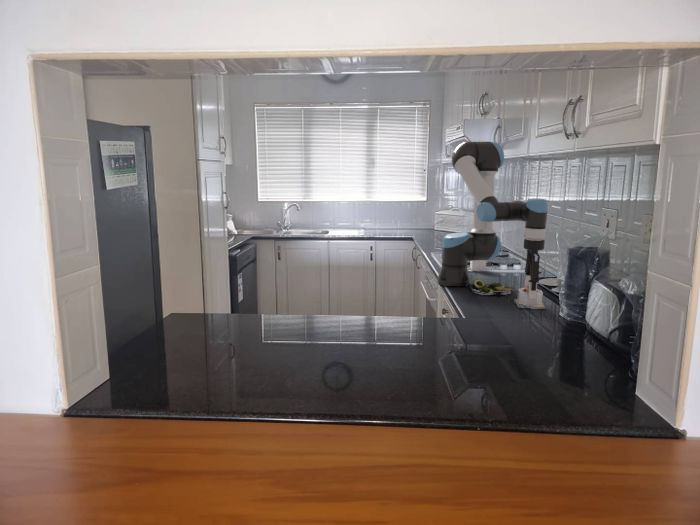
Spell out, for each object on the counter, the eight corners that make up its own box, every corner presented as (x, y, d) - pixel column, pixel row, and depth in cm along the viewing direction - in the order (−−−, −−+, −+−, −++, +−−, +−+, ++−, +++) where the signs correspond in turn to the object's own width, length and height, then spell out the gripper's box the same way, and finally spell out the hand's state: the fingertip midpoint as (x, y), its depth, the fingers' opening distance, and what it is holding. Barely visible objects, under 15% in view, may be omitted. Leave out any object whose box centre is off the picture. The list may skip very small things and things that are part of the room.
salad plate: (511, 287, 231) (511, 277, 230) (520, 298, 213) (520, 287, 212) (468, 286, 232) (468, 276, 232) (473, 296, 215) (474, 286, 214)
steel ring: (519, 305, 197) (520, 293, 196) (516, 299, 206) (517, 287, 205) (543, 306, 196) (544, 294, 195) (538, 300, 204) (539, 288, 203)
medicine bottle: (483, 268, 269) (484, 246, 266) (485, 271, 262) (487, 248, 259) (469, 268, 269) (471, 245, 267) (471, 270, 262) (473, 248, 260)
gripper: (550, 244, 184) (545, 302, 189) (539, 234, 206) (535, 288, 210) (528, 243, 185) (524, 301, 190) (520, 234, 207) (516, 287, 211)
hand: (530, 294), depth 200 cm, fingers open, 10 cm apart
